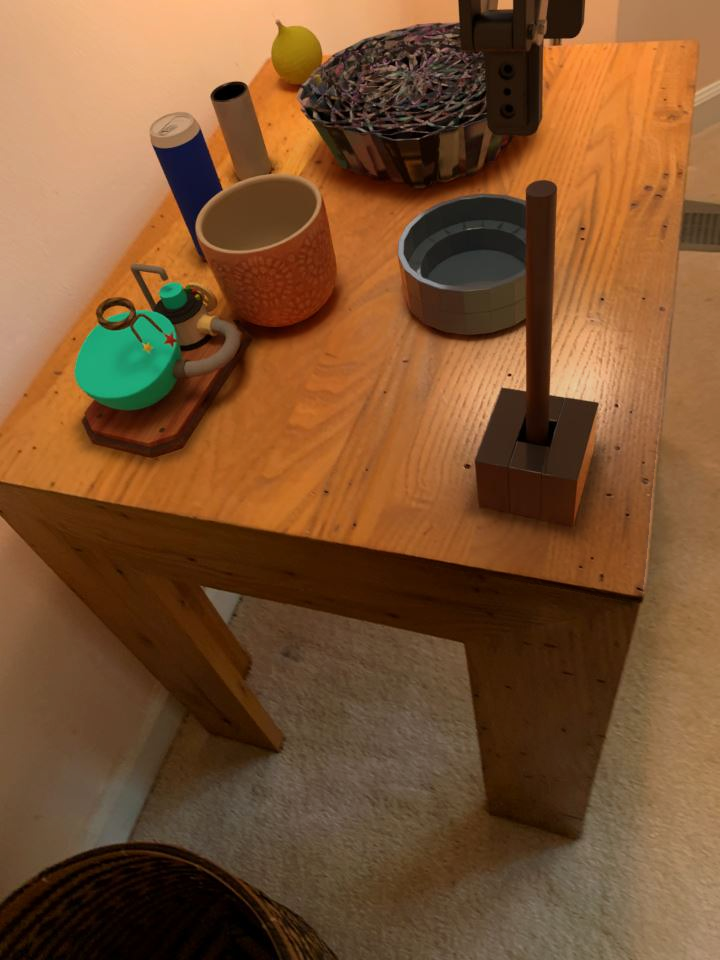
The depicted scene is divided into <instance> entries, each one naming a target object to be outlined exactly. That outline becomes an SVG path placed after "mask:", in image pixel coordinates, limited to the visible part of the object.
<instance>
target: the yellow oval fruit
mask: <svg viewBox="0 0 720 960" xmlns="http://www.w3.org/2000/svg"><path fill="white" fill-rule="evenodd" d="M271 15H272V17H275V14H274V15H273V14H271ZM275 25H276V26H277V29H278V32H277V35H276V36H275V38H274V39H273V41H272V45H271V50H270V59H271V63H272V67H273V68H274V70H275V72H276V73H277V75H278V76H279V77H280V78H281V79H282V80H283V81H285V82H286V83H289V84H291V85H297V86H298V85H302V84H303V83H304V82H305V81H307V80H308V79H309V78H310V76H311V73H312V72H313V71H314V70H315V69H317V68H318V67H319V66H320V65H322V64H323V49H322V45H321V42H320V41H319V39H318V37H317V35H315V33H314V32H312V30H310V29H308V28H307V27H305V26H303V25H289V26H285V25H284V24H282V22H281V20H280V19H279V18H278V19H275Z"/></svg>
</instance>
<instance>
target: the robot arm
mask: <svg viewBox="0 0 720 960" xmlns="http://www.w3.org/2000/svg"><path fill="white" fill-rule="evenodd" d="M457 3H458V22H459V25H460V30H459V39H460V43H461V48H462V51H463V52H476V51H477V52H484V65H485V86H486V108H487V126H488V128H489V130H490V131H491V132H492V133H493V134H496V135H512V136H514V137H517V136H518V137H530V136H532V135H534V134H535V133H537V131H538V129H539V127H540V124H541V122H542V120H543V91H544V87H543V86H544V81H543V80H544V40H558V39H559V40H562V39H563V40H564V39H565V40H568V39H574V38H576V37H578V36H579V34H580V33H581V31H582V28H583V27H584V24H585V15H586V14H585V12H586V0H512V8H507V9H505V8H504V9H503V8H502V9H498V7H499V6H498V5H499V0H457Z"/></svg>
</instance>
